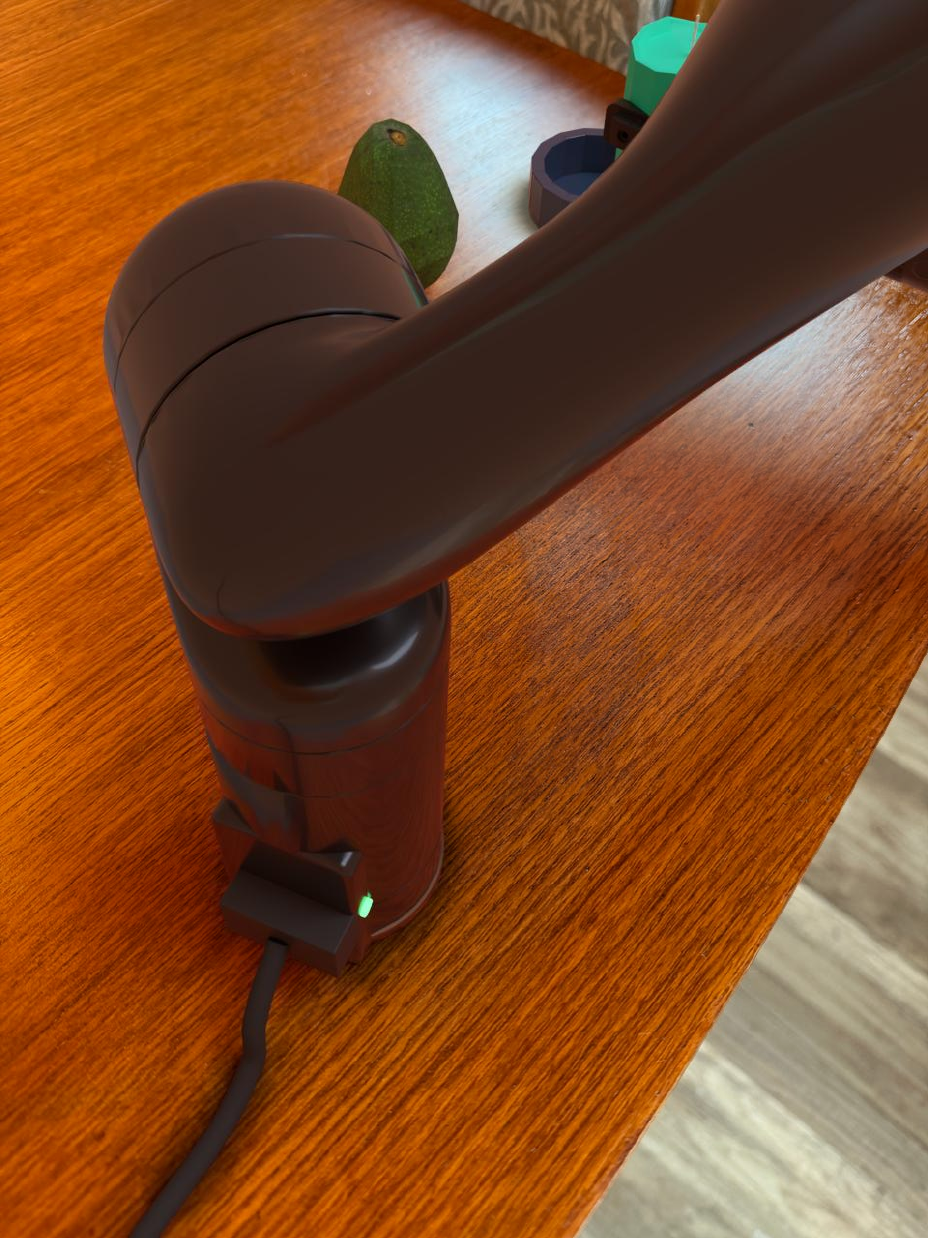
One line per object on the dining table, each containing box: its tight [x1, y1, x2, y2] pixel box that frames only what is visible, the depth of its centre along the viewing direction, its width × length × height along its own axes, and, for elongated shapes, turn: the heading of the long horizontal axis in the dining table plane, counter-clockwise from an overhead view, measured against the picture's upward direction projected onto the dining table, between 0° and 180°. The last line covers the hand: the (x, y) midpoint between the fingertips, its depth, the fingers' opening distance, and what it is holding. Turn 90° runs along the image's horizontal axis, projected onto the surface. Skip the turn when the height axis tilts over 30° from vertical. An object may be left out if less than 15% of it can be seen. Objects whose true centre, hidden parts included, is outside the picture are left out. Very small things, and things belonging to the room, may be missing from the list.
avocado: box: [337, 117, 460, 291], centre depth 75 cm, size 8×8×12 cm
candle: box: [615, 14, 708, 160], centre depth 63 cm, size 6×6×12 cm
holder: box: [527, 127, 616, 230], centre depth 85 cm, size 9×9×4 cm
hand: (635, 95), depth 63 cm, fingers closed on candle, 4 cm apart
